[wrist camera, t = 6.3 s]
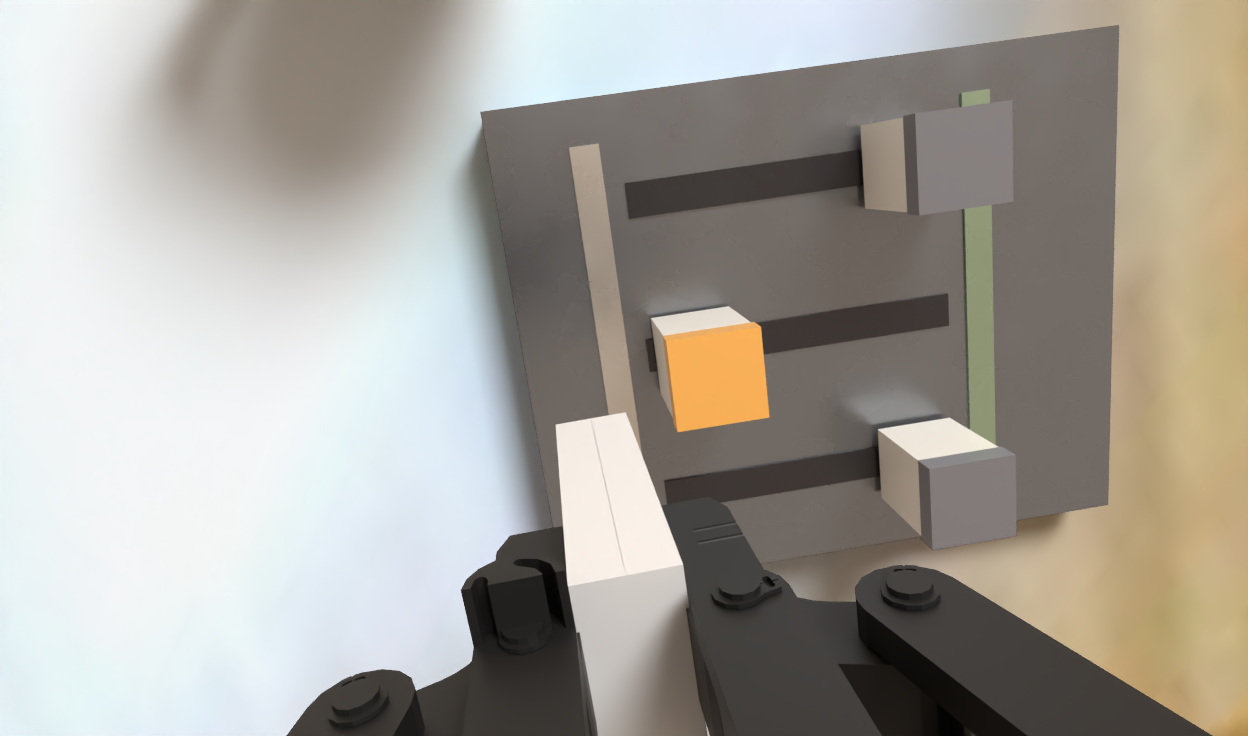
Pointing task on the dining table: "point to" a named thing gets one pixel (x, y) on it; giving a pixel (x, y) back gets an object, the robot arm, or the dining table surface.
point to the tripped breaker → (710, 368)
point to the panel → (823, 279)
